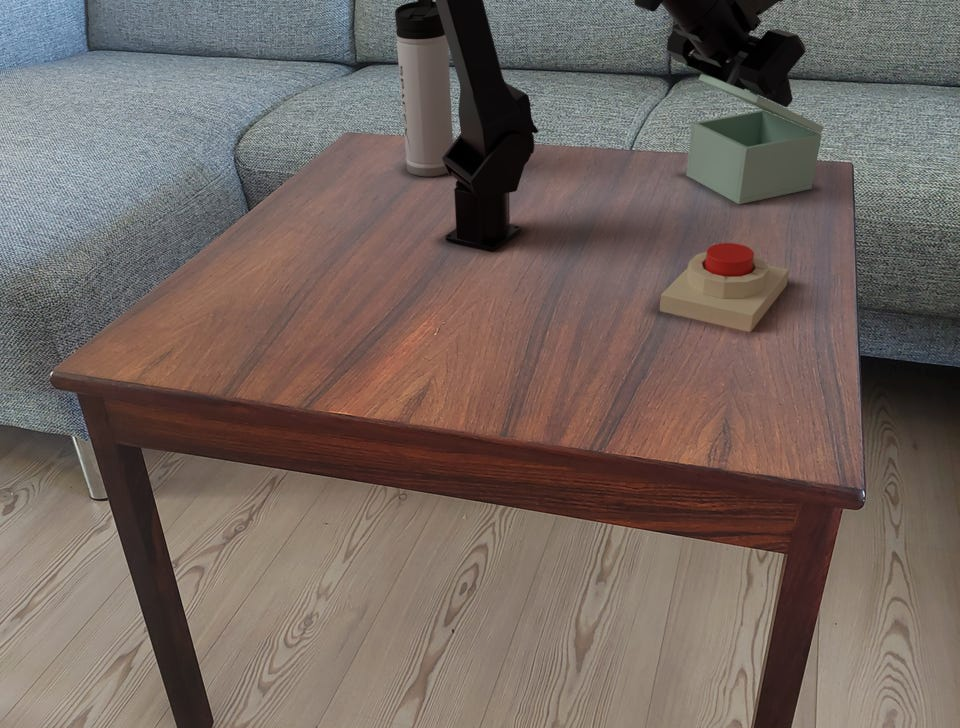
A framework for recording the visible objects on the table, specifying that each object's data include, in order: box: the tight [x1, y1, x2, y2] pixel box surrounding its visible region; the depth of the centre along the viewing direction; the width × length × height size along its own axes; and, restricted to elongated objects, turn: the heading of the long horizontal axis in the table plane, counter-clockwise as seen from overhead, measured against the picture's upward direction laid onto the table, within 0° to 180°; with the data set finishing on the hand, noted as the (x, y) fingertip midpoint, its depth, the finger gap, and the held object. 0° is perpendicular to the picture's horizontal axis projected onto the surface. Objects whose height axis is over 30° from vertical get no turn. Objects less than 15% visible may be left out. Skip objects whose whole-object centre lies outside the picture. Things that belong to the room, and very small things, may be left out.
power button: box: [705, 242, 755, 277], centre depth 89 cm, size 4×4×2 cm
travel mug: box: [394, 0, 454, 178], centre depth 118 cm, size 6×7×20 cm
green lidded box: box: [685, 109, 823, 205], centre depth 114 cm, size 11×11×7 cm
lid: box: [698, 56, 825, 134], centre depth 110 cm, size 11×11×5 cm
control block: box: [659, 251, 790, 333], centre depth 90 cm, size 11×9×4 cm
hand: (766, 94), depth 110 cm, fingers open, 8 cm apart
